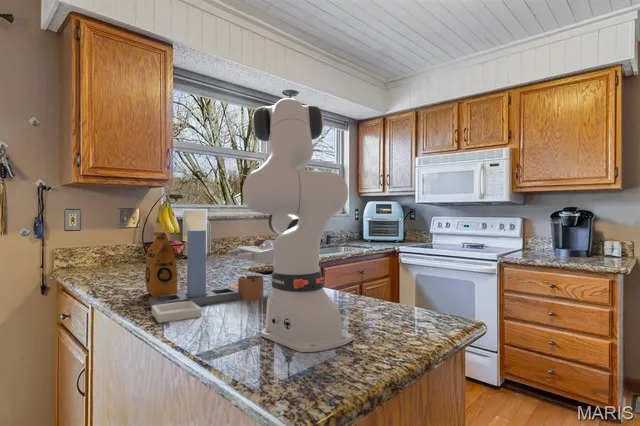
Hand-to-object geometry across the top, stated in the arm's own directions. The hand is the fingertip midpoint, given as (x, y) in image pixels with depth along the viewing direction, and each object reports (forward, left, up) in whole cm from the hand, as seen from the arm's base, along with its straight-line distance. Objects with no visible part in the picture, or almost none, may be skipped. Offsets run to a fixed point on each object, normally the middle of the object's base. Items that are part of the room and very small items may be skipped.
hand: (233, 255), depth 122 cm
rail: (0, +12, -14) cm, 19 cm away
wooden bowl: (+100, -65, -15) cm, 120 cm away
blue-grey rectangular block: (0, +12, -14) cm, 19 cm away
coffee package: (+18, +19, -14) cm, 30 cm away
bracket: (+2, -5, -15) cm, 16 cm away
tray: (-11, +21, -14) cm, 27 cm away
